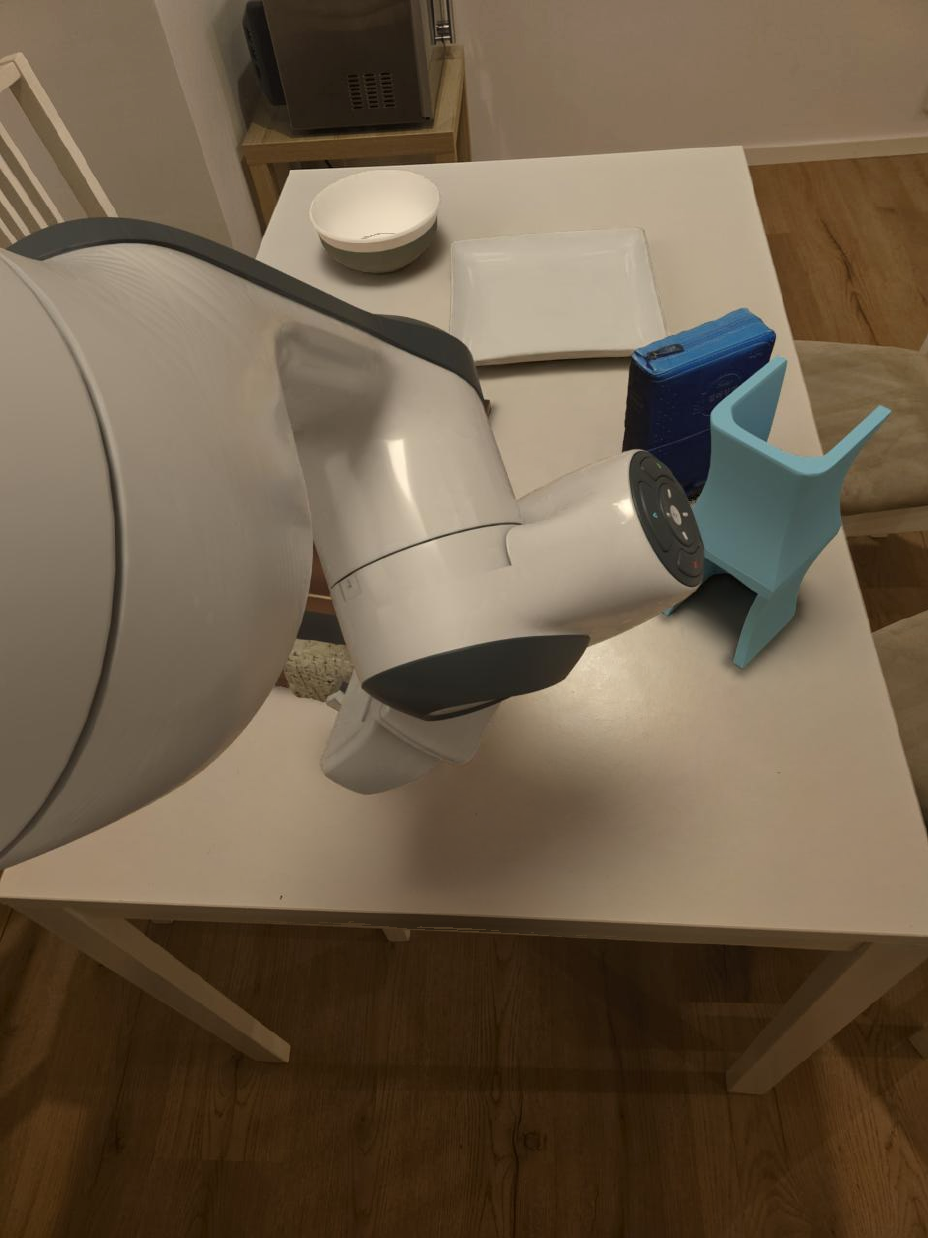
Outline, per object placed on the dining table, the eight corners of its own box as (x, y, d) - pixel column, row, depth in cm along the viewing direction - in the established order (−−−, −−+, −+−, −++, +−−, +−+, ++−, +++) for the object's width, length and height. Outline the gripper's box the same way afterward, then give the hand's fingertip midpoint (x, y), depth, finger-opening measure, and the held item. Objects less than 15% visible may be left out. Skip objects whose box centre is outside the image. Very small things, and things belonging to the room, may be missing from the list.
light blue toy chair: (803, 607, 79) (894, 409, 59) (742, 669, 76) (816, 483, 55) (720, 554, 84) (778, 353, 63) (659, 610, 80) (698, 417, 60)
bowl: (467, 234, 121) (463, 179, 115) (408, 306, 112) (400, 251, 106) (361, 213, 127) (351, 159, 120) (297, 280, 118) (282, 226, 112)
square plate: (668, 370, 100) (672, 344, 97) (449, 385, 102) (446, 359, 99) (642, 247, 116) (644, 221, 113) (452, 261, 118) (449, 236, 114)
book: (630, 530, 87) (650, 380, 70) (604, 498, 89) (617, 346, 73) (742, 482, 89) (787, 325, 73) (714, 452, 92) (751, 295, 76)
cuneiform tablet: (430, 752, 60) (282, 724, 63) (446, 703, 63) (304, 678, 66) (418, 698, 55) (257, 669, 57) (436, 646, 58) (282, 622, 60)
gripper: (467, 463, 53) (356, 539, 63) (375, 739, 43) (259, 778, 53) (534, 517, 56) (418, 581, 66) (464, 788, 45) (338, 817, 55)
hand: (347, 670), depth 59 cm, fingers closed on cuneiform tablet, 4 cm apart
